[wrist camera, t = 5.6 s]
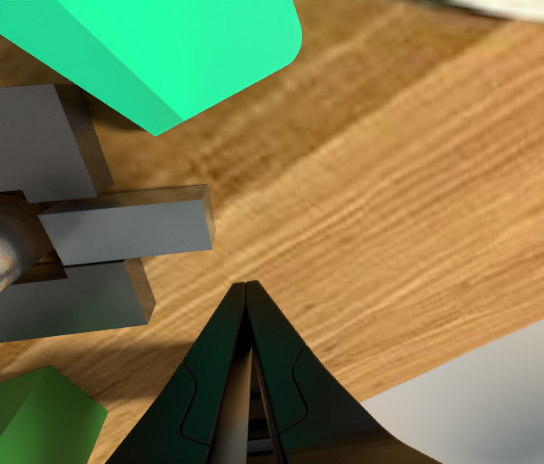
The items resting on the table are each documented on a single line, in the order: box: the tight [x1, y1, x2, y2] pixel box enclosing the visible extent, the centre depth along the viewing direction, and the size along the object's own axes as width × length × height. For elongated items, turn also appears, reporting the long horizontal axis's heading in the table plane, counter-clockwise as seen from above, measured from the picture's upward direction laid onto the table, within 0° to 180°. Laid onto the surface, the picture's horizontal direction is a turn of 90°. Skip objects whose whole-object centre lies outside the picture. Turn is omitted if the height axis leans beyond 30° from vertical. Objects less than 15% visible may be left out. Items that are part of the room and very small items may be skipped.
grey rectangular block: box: [38, 184, 216, 265], centre depth 15 cm, size 3×8×2 cm, turn 94°
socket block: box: [0, 84, 156, 343], centre depth 15 cm, size 14×12×2 cm
